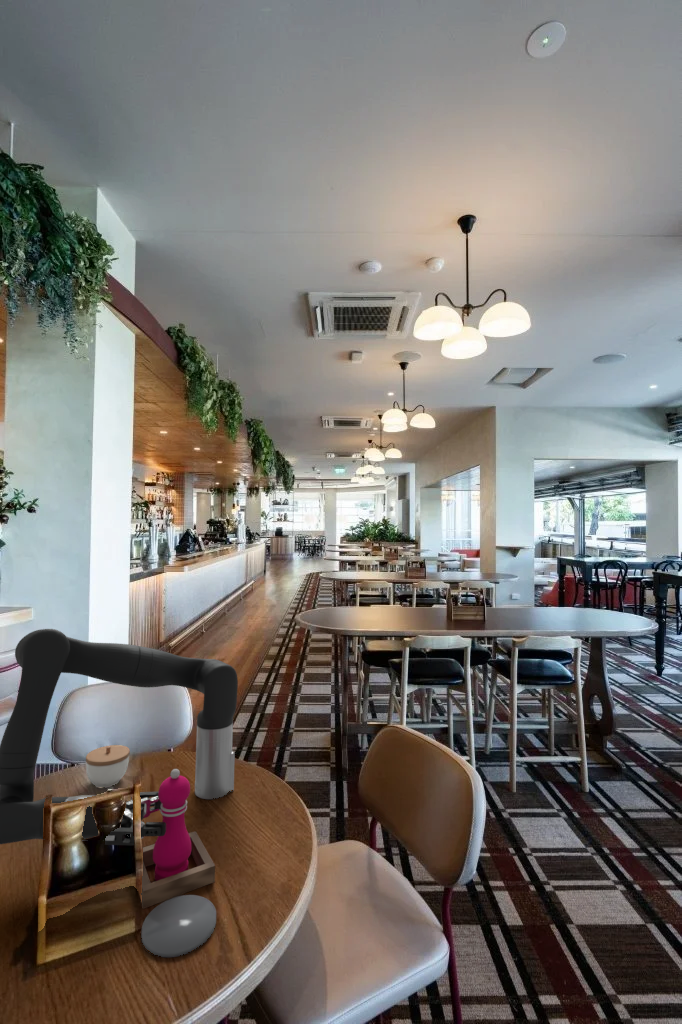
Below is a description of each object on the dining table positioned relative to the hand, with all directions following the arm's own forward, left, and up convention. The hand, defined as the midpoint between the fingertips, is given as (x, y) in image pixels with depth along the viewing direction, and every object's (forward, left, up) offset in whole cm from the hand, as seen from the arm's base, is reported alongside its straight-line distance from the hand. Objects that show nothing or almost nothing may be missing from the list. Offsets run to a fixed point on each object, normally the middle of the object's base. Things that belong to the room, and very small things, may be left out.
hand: (172, 816), depth 95 cm
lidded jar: (+6, -46, -11) cm, 48 cm away
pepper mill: (0, 0, -11) cm, 11 cm away
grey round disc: (+2, +14, -11) cm, 18 cm away
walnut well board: (0, 0, -11) cm, 11 cm away
